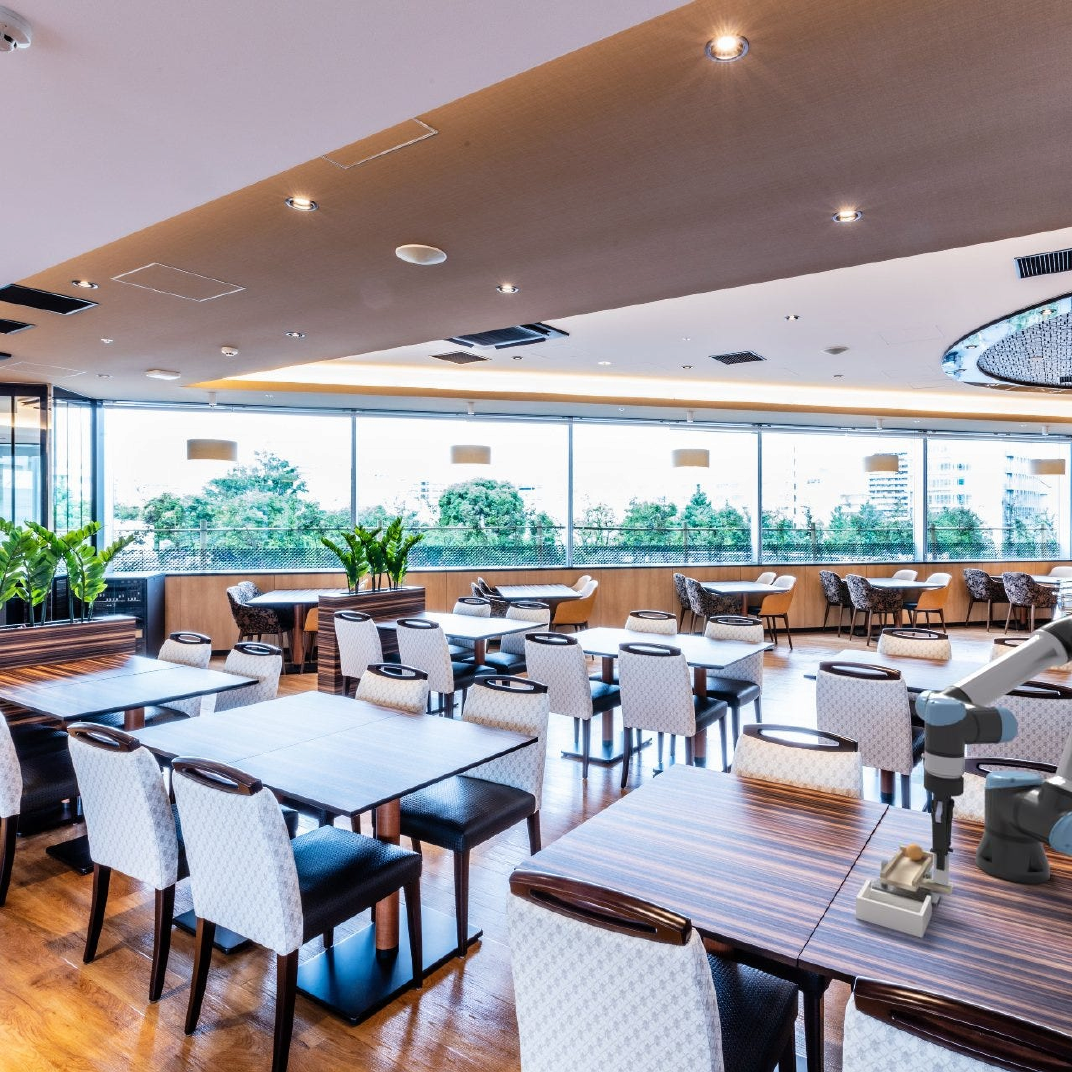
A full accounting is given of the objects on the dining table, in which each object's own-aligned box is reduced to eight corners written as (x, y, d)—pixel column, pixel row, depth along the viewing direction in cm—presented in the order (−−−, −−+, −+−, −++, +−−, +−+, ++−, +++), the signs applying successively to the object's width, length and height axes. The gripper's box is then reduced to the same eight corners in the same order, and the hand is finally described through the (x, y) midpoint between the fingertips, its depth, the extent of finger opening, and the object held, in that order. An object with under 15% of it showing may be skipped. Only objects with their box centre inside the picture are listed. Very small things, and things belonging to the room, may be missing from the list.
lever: (962, 872, 175) (962, 859, 175) (947, 900, 158) (948, 886, 158) (899, 857, 183) (899, 845, 183) (879, 882, 166) (879, 868, 166)
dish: (931, 915, 161) (932, 894, 161) (922, 937, 153) (922, 916, 153) (868, 897, 169) (868, 877, 169) (855, 918, 160) (856, 897, 160)
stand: (940, 897, 169) (940, 871, 169) (936, 906, 165) (936, 879, 165) (877, 880, 177) (877, 855, 177) (872, 888, 173) (872, 863, 172)
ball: (924, 857, 179) (924, 843, 179) (921, 864, 176) (921, 850, 176) (907, 853, 181) (907, 839, 181) (904, 860, 178) (904, 846, 178)
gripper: (929, 761, 170) (926, 867, 171) (918, 777, 160) (915, 889, 160) (968, 768, 166) (965, 876, 166) (959, 784, 155) (956, 900, 156)
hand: (940, 882), depth 163 cm, fingers closed
